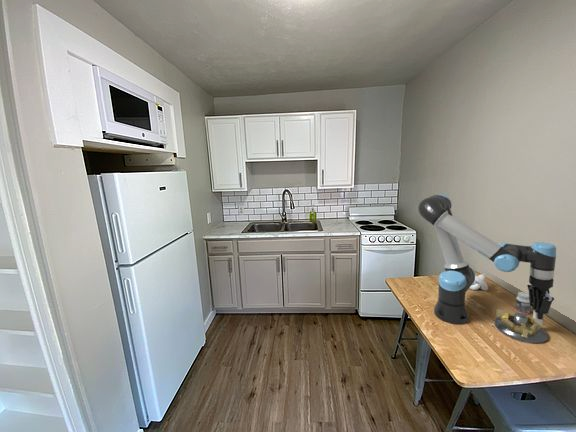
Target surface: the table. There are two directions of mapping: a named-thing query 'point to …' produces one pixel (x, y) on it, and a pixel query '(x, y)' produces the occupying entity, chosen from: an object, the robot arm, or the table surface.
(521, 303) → the pill bottle
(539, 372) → the table surface
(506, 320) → the taped hex socket base
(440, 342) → the table surface
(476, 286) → the white knot sculpture
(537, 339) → the hub plate
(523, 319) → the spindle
